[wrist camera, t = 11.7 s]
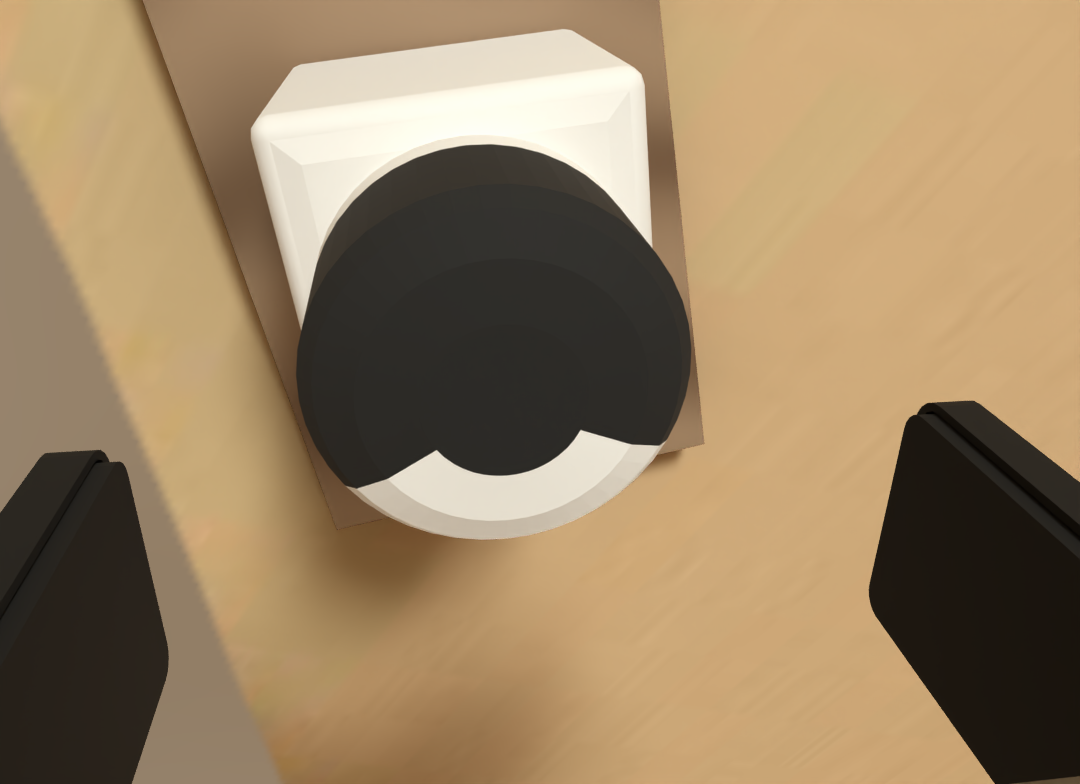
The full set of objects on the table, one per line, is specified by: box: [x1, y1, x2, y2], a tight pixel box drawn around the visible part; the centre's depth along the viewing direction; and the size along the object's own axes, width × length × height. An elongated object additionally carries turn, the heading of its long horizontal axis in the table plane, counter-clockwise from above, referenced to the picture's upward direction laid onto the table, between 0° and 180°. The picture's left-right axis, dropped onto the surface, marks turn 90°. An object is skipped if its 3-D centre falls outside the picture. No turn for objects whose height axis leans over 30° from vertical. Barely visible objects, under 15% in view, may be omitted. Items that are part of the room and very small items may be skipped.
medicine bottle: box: [251, 29, 691, 540], centre depth 18 cm, size 7×7×12 cm
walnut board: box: [143, 0, 704, 530], centre depth 24 cm, size 20×12×2 cm, turn 10°
